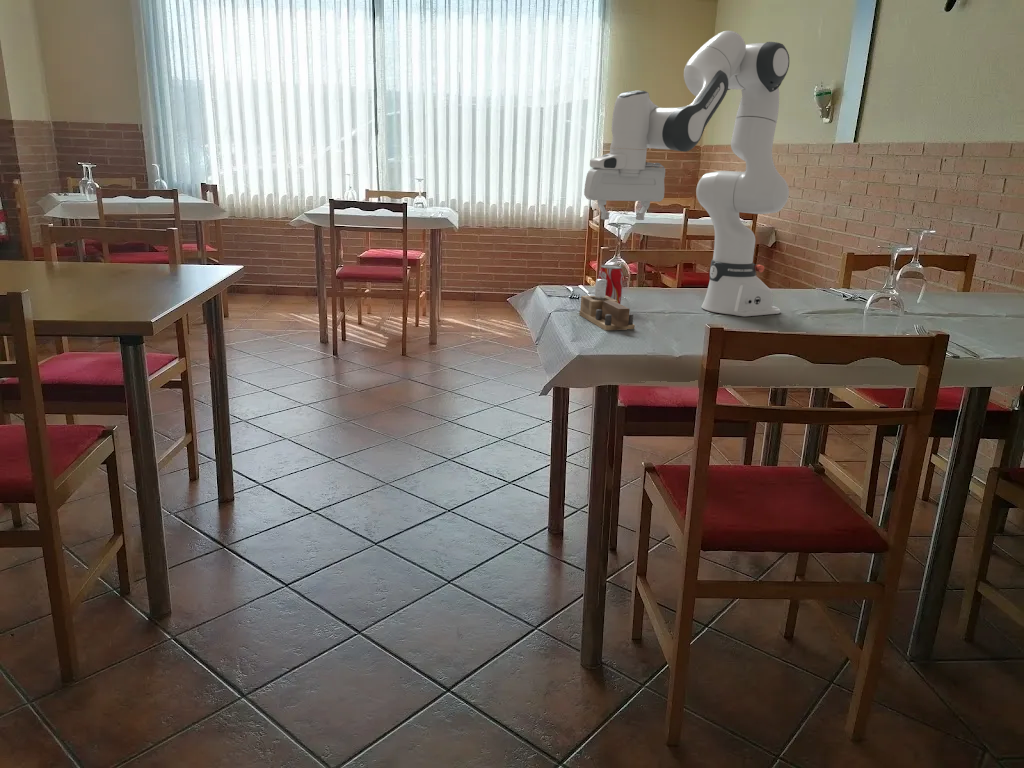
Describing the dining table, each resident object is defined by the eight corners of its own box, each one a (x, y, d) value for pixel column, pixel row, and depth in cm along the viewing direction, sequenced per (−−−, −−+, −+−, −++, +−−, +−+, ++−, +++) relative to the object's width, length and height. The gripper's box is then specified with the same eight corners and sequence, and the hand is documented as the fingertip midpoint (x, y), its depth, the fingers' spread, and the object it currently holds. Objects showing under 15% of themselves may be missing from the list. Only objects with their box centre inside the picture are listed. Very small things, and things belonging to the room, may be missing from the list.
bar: (612, 317, 205) (613, 300, 203) (628, 326, 195) (629, 308, 194) (601, 317, 204) (602, 300, 202) (617, 326, 195) (618, 309, 193)
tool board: (606, 314, 214) (607, 295, 213) (634, 329, 198) (636, 309, 196) (579, 314, 212) (580, 295, 210) (605, 330, 195) (607, 310, 194)
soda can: (619, 311, 218) (623, 269, 215) (594, 309, 220) (597, 267, 216) (621, 306, 225) (624, 265, 222) (596, 304, 226) (600, 263, 223)
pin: (600, 311, 211) (603, 278, 209) (605, 313, 209) (608, 280, 206) (591, 312, 210) (594, 278, 207) (596, 314, 207) (599, 280, 205)
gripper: (660, 162, 194) (654, 218, 198) (583, 159, 188) (579, 217, 192) (672, 163, 188) (666, 221, 192) (593, 160, 182) (589, 220, 186)
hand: (622, 219), depth 192 cm, fingers open, 8 cm apart
